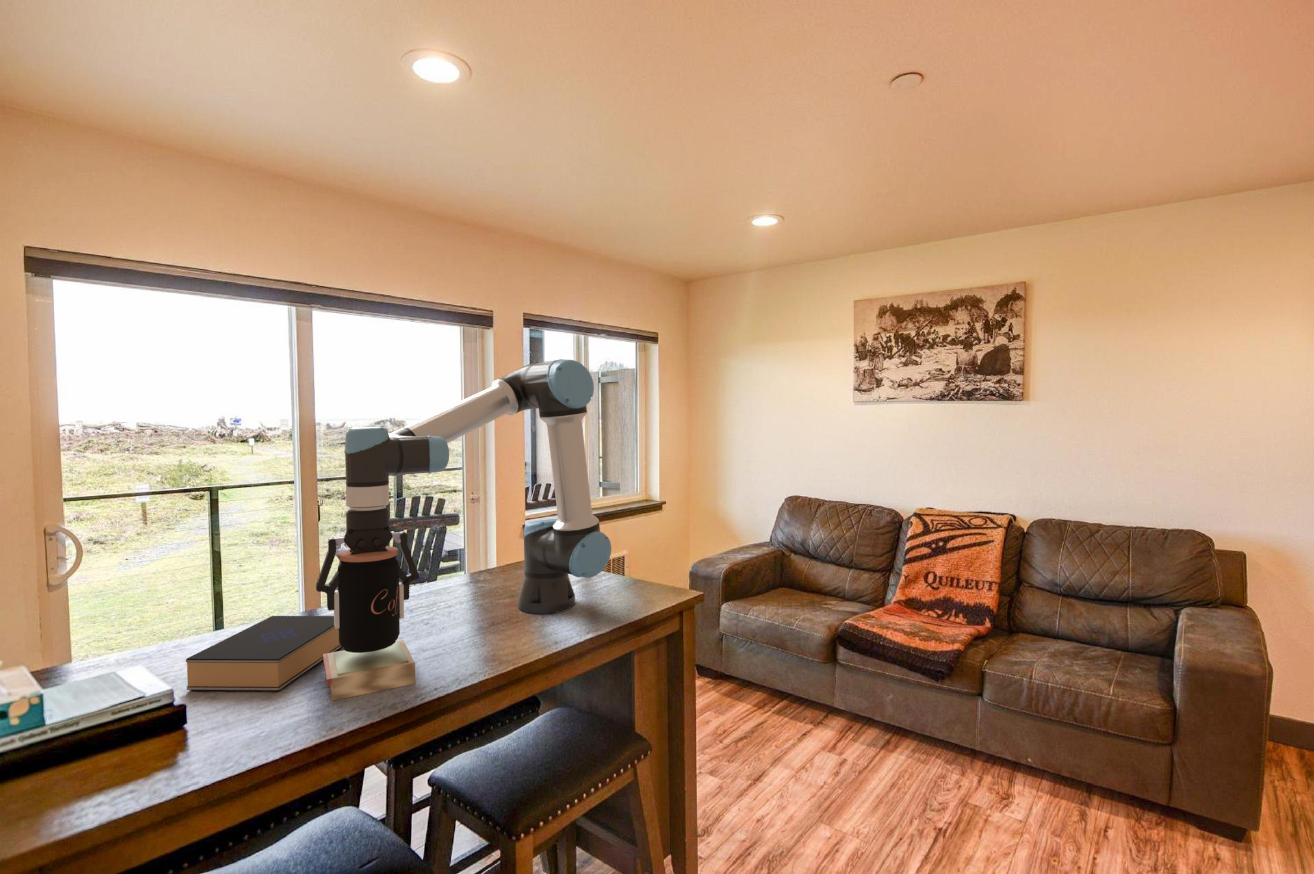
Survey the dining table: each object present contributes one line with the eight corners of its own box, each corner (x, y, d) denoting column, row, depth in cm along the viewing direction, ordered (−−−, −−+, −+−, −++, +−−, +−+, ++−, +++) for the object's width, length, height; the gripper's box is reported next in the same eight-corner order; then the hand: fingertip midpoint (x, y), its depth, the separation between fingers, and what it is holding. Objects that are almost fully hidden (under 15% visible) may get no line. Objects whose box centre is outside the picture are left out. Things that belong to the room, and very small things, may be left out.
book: (186, 694, 115) (185, 658, 114) (272, 644, 140) (272, 615, 139) (279, 695, 114) (278, 659, 114) (349, 645, 139) (348, 615, 139)
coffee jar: (376, 656, 114) (375, 558, 113) (325, 652, 116) (324, 556, 116) (410, 636, 124) (409, 546, 124) (363, 632, 127) (362, 544, 126)
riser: (403, 659, 130) (403, 638, 130) (415, 683, 118) (415, 661, 118) (323, 674, 123) (322, 652, 122) (327, 701, 110) (326, 677, 110)
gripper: (427, 501, 129) (428, 607, 129) (298, 509, 117) (300, 626, 117) (434, 505, 122) (435, 616, 123) (298, 514, 110) (301, 638, 111)
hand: (369, 621), depth 120 cm, fingers closed on coffee jar, 11 cm apart
